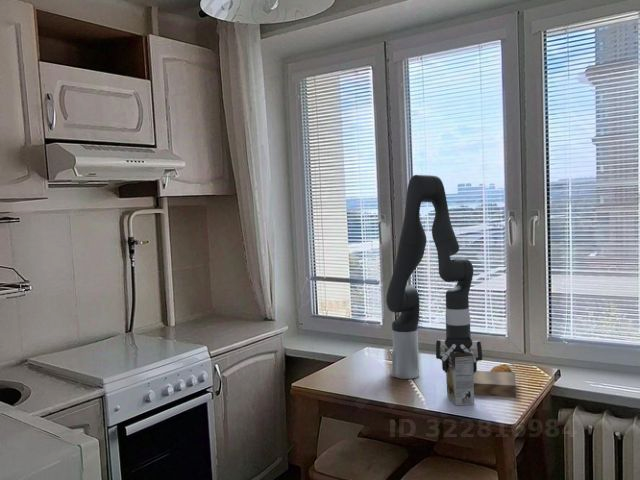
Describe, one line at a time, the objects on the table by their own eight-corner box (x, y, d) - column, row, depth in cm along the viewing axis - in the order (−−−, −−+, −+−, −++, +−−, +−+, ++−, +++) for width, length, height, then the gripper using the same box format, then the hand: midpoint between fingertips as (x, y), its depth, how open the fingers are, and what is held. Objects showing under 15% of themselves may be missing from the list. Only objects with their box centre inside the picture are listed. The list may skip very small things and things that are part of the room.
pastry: (500, 381, 195) (500, 371, 195) (483, 378, 200) (483, 367, 200) (514, 375, 201) (514, 365, 201) (497, 372, 206) (497, 362, 206)
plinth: (470, 395, 182) (470, 383, 182) (473, 381, 196) (472, 370, 195) (516, 397, 178) (515, 385, 178) (515, 384, 191) (515, 372, 191)
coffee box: (446, 396, 182) (444, 347, 181) (465, 394, 183) (463, 346, 182) (455, 406, 173) (453, 355, 172) (475, 404, 173) (473, 353, 173)
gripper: (433, 324, 175) (435, 375, 176) (480, 324, 170) (482, 377, 171) (436, 319, 182) (438, 368, 183) (481, 319, 177) (483, 370, 178)
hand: (459, 372), depth 177 cm, fingers closed on coffee box, 8 cm apart
